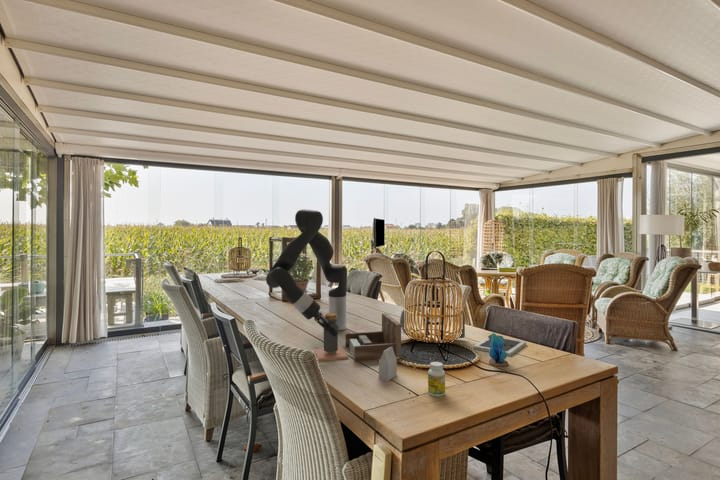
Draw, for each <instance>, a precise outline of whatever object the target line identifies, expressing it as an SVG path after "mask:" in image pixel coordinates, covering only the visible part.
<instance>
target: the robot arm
mask: <svg viewBox="0 0 720 480" xmlns="http://www.w3.org/2000/svg"><path fill="white" fill-rule="evenodd" d="M323 220H324V216H323V214H322V212H321V211H320V210H313V209H299V210H297V212H296V213H295V217H294V221H295V225H296V227H297V229H298V230H299V231H300V232H301V233H300V234H299V235H297V236H296V237H295V238H294V239H292V240H291V241H289V243H287V244H286V245H285V247H284V248H283V250H281V253H280V255H279V256H278V258H277V261H276V262H275V263H274V264H273V266H272V267H271V269H270V270H269V271H268V272H267V274H266V277H265V281H266V284H267V286H268V287H269V288H273V289H277V288H281V289H282V291H283V296H284V298H285V299H286V300H287V302H289V303H290V304H291V305H293V308H295V310H297V311H298V312H299V313H300V314H301V315H302V317H304V318H305V319H306V320H307V321H308V320H311V319H313V318H314V319H313V320H314V322H315V323H317V324H318V325H319V326H320V327H321V328H323V330H324V329H325V330H326V331H329V332H330V333H331V334H332V335H333V336H334V337H335V336H336V335H337V334H338V335H339V333H338V332H339V331H344V330H347V290H348V287H347V286H348V268H347V267H346V266H345V265H341V264H340V265H337V264H332V263H331V260H332V259H333V256H334V249H333V248H334V247H333V246H332V244H331V242H330V240H329V239H328V238H327V236H325V235H324V234H322V233H321V232H320V229H321V228H322V225H323ZM308 244H309V246H310V249H311V250H312V252H313V255H314V256H315V258H316V259H317V261H318V263H319V265H320V267H321V270H322V272H323V274H324V277H325V279H326V281H327V282H328V283H332V284H337V285H338V286H337V287H335V288H332V289H329V290H328V313H334V314H336V318H337V321H336V324H337V325H338V332H337V331H336V330H335V329H334V328H333V327H332V326H331V325H330V324H329V323H328V322H329V321H328V320H327V319H326V317H325V315H324V313H322V312H320V309H321V305H320V304H319V303H318V302H316V300H315V299H314V298H313V297H312V296H311V295H309V293H307V292H306V291H304V290H303V289H302V287H300V286H299V285H298V284H297V282H296V281H295V279H294V277H293V276H292V275H291V273H290V272H289V271H291V270H292V269H293V267H294V266H295V265H296V263H297V260H299V258H300V256H301V254H302V252H303V251H304V249H305V248H306V247H307V246H308ZM325 320H326V321H325ZM326 325H328V327H327V328H326V327H325V326H326Z"/></svg>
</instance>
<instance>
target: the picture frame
mask: <svg viewBox="0 0 720 480" xmlns="http://www.w3.org/2000/svg"><path fill="white" fill-rule="evenodd" d="M496 335H497V334H496ZM497 336H498V337H500V338H501V339H502V340H503V341H504V346H503V351H504V350H505V352H506V357H512V356H513V355H515V354H516V353H517V352H518V351H519V350H521V349H522V348H524V347H525V346H526V345H527V341H522V340H519V339H513V338H507V337H503V336H502V335H497ZM491 339H492V334H489V335H488V336H487V338H485V339H483V340H481V341H480V342H478V343H476V344H475V345H473V349H474V350H476V351H482V352H486V353H487V352H488V353H489V350H490V348H491V345H490V344H491ZM503 351H502V352H503Z"/></svg>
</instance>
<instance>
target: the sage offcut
mask: <svg viewBox="0 0 720 480" xmlns="http://www.w3.org/2000/svg"><path fill="white" fill-rule="evenodd" d="M354 346H360V344H359V342H358V341H357V339H350V347H349V350H350V352H351V353H352V356H353V357H354Z"/></svg>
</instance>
